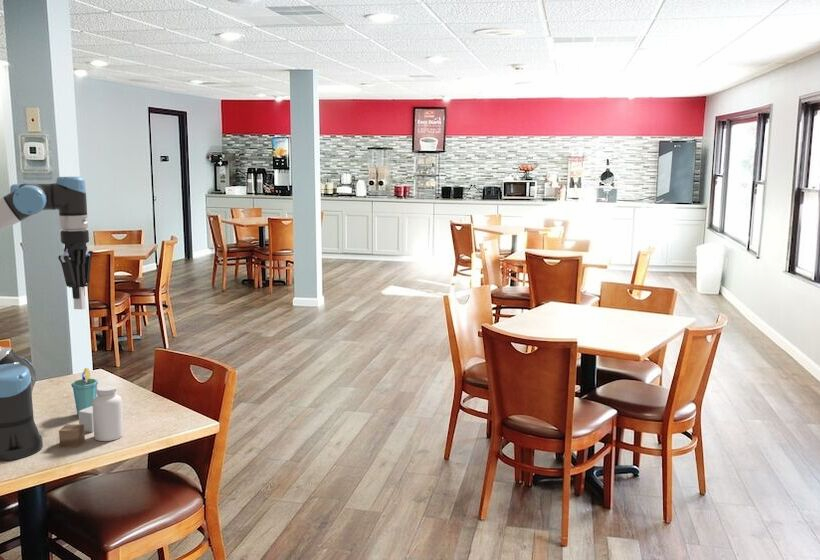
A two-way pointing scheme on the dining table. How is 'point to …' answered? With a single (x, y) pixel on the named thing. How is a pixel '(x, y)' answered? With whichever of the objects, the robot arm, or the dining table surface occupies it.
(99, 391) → the pill bottle
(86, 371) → the cup
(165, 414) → the dining table surface
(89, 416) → the white block
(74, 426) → the walnut cube
